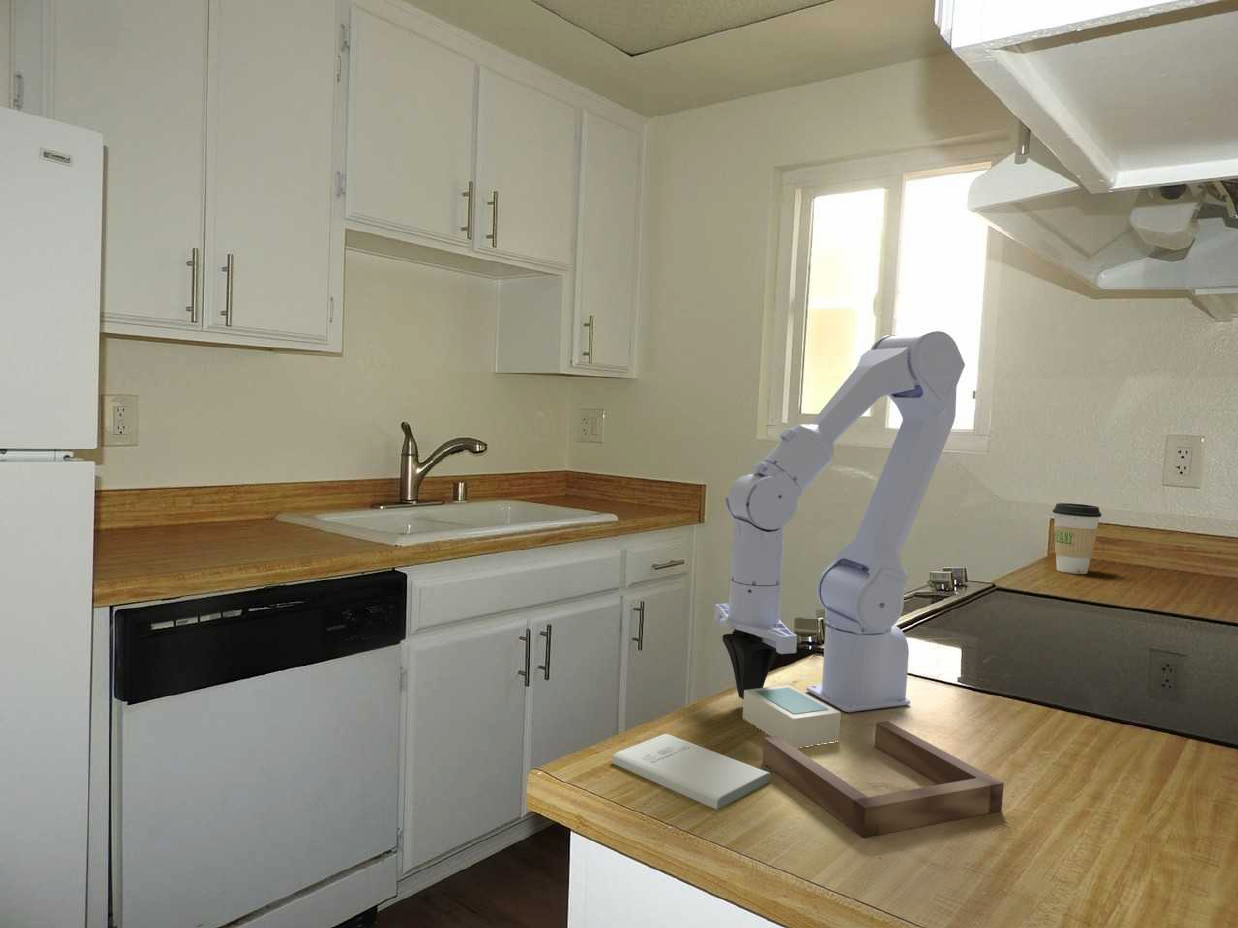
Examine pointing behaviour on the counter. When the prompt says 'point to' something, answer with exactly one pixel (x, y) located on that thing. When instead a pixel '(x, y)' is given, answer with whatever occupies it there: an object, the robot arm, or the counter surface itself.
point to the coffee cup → (1075, 536)
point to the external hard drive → (691, 770)
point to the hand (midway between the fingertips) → (749, 697)
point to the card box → (791, 715)
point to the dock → (870, 816)
